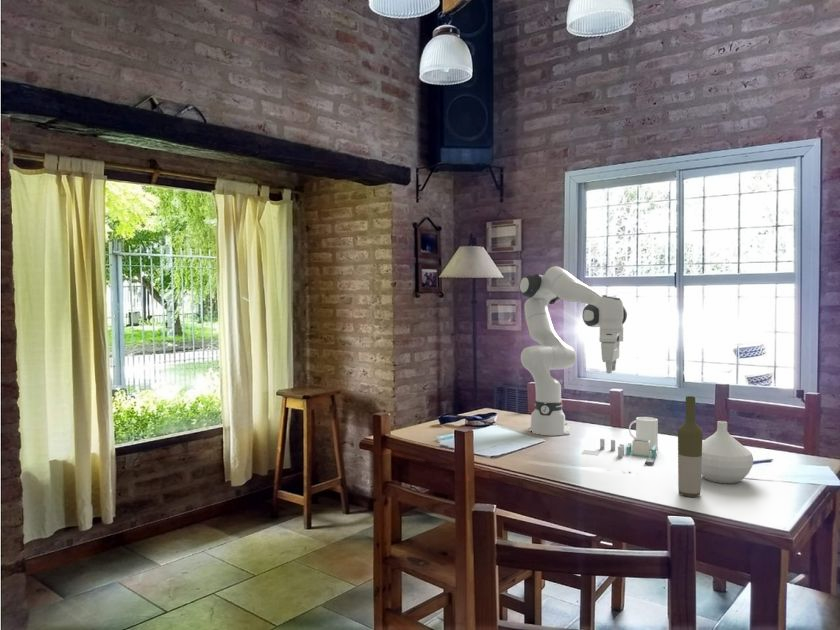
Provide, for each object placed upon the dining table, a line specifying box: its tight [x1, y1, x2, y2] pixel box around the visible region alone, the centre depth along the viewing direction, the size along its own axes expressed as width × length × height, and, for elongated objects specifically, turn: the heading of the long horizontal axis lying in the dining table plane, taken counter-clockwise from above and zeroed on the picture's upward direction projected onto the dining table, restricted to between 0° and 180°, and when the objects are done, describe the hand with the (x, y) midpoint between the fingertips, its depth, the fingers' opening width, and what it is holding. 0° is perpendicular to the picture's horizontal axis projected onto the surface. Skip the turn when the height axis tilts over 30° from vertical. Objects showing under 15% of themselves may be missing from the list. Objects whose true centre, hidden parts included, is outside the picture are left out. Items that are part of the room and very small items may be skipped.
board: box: [581, 438, 658, 466], centre depth 234 cm, size 15×26×5 cm, turn 65°
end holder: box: [625, 442, 657, 458], centre depth 233 cm, size 7×10×3 cm
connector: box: [631, 438, 651, 456], centre depth 232 cm, size 4×6×5 cm, turn 65°
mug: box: [628, 416, 659, 452], centre depth 247 cm, size 12×8×12 cm
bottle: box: [677, 396, 704, 498], centre depth 188 cm, size 7×7×30 cm
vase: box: [701, 420, 754, 484], centre depth 204 cm, size 18×18×19 cm
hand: (611, 371), depth 241 cm, fingers open, 8 cm apart
